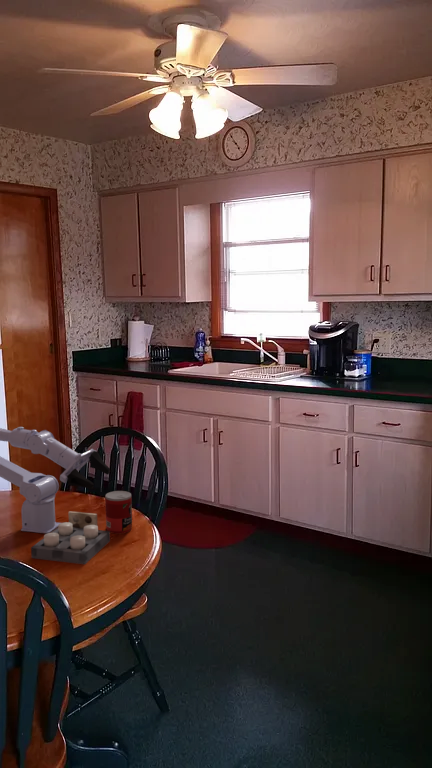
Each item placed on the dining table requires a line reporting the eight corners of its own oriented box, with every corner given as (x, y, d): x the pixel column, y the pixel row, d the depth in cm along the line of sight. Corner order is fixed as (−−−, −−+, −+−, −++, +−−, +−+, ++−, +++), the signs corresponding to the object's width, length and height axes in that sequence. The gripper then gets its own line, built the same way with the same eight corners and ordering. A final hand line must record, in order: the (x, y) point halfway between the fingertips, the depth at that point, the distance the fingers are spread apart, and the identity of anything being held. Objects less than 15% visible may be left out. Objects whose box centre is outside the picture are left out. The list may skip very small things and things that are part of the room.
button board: (31, 558, 168) (31, 547, 167) (60, 535, 183) (60, 526, 182) (85, 564, 164) (84, 553, 163) (110, 540, 179) (109, 531, 178)
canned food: (127, 535, 183) (126, 499, 182) (102, 533, 185) (101, 498, 183) (135, 525, 191) (134, 491, 189) (111, 523, 192) (110, 489, 191)
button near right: (67, 550, 167) (67, 540, 166) (74, 544, 170) (74, 534, 170) (81, 551, 166) (80, 541, 165) (88, 545, 169) (87, 536, 169)
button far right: (81, 538, 174) (81, 529, 174) (87, 533, 178) (87, 524, 178) (94, 540, 173) (94, 530, 173) (100, 534, 177) (100, 525, 177)
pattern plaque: (68, 533, 185) (68, 512, 184) (70, 531, 186) (69, 511, 185) (96, 536, 183) (95, 515, 182) (97, 534, 184) (97, 513, 183)
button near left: (41, 547, 169) (41, 537, 168) (48, 541, 172) (48, 532, 172) (54, 548, 168) (54, 538, 167) (61, 542, 171) (61, 533, 171)
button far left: (56, 536, 176) (55, 526, 176) (62, 530, 180) (62, 521, 180) (68, 537, 175) (68, 528, 175) (75, 532, 179) (74, 523, 179)
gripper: (48, 460, 174) (86, 484, 171) (81, 434, 185) (117, 456, 181) (47, 477, 178) (84, 500, 175) (79, 450, 189) (114, 472, 186)
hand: (101, 479), depth 178 cm, fingers open, 7 cm apart
